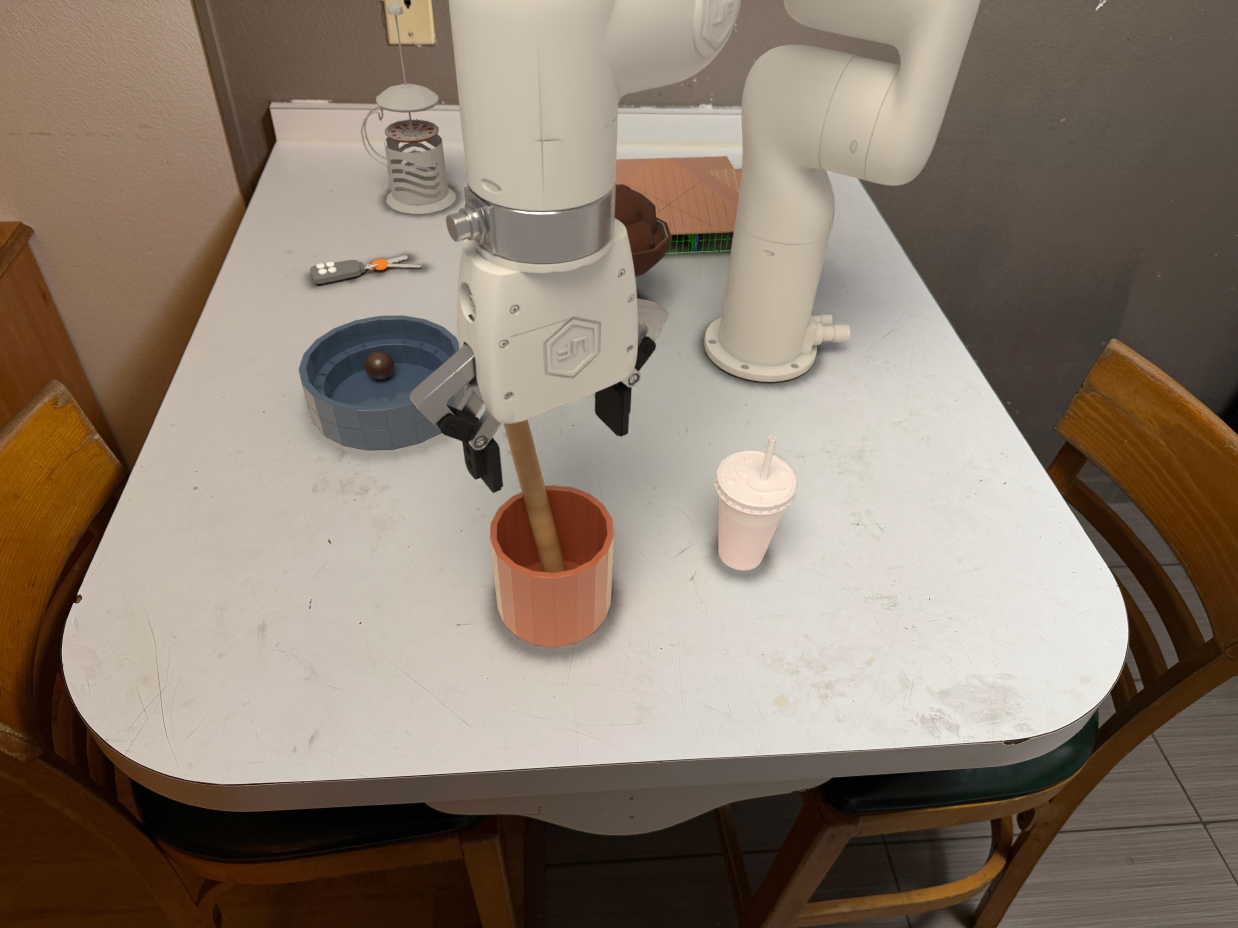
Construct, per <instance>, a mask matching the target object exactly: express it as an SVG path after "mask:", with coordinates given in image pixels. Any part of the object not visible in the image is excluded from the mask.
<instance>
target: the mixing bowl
mask: <svg viewBox="0 0 1238 928" xmlns="http://www.w3.org/2000/svg"><path fill="white" fill-rule="evenodd" d="M458 350H459V341H458V337H456V336H455V335H454V334H453V333H452V332H450V331H449V330H448V329H447V328H446V327H444V326H443V325H441V324H438V323H436V322H434V321H431V320H428V319H426V318H421V317H415V316H409V315H402V314H401V315H377V316H369V317H365V318H360V319H355V320H352V321H350V322H347V323H344V324H342V325H339V326H336V327H334V328H332V329H331V330H329V331H327V332H325V333H324V334H322V335H321V336H319V337H318V338H316V339H315V340H314V341H313V342H312V344H311V345H310V346H309V347H308V348H307V349H306V350H305V352H303V355H302V357H301V360H300V364H299V366H298V374H299V378H300V383H301V387H302V390H303V394H304V396H305V400H306V404H307V406H308V410H309V413H310V417H311V420H312V423H313V424H314V425H315V427H316V428H317V429H318V430H319V431H320V433H322V435H323V436H325V438H328V439H330V440H332V441H334V442H336V443H338V444H339V445H341V446H344V447H349V448H355V449H360V450H365V451H382V450H383V451H384V450H385V451H386V450H396V449H401V448H405V447H409V446H413V445H418V444H421V443H422V442H425V441H427V440H429V439H431V438H433V437H435V436H437V435H440V434H442V432H441V431H440V430H439V429H438V428H437V427H436V426H435V425H434V424H432V423H431V422H430V421H429V420H428V419H427V418H426V417H425V416H424V415H423V414H422V413H421V412H420V411H419V410H418V408H417V407H416V406H415V405H414V403H413V402H412V401H411V399H410V393H411V392H412V390H413V389H415V388H416V387H417V386H418V385H419V384H420V383H421V382H423V381H424V380H425V379H426V378H427V377H428V376H430V375H431V374H432V373H433V372H434V371H435V370H436V369H438V368H439V367H440V366H441V365H442V364H443V363H444V362H446V361H447V360H448V359H449V358H450V357H451V356H453V355H454V354H455V353H456V352H457V351H458ZM376 351H382V352H385V353H387V354H389V355H390V356H391V357H392V359H393V361H394V365H395V368H394V372H393V374H392V375H391V376H390V377H389V378H387V379H385V380H375V379H373V378H371V377H370V376H369V375H368V374H367V373H366V371H365V367H364V363H365V360H366V358H367V356H368V355H370V354H371V353H373V352H376ZM467 391H468V387H467V386H466V385H465V386H464V387H463V388H461V389H460V390H459V391H458V392H457V393H456V394H455V395H453V396H452V397H451V398H450V399H449V400H448V402H447V405H449V406H452V407H454V408H457V407H458V405H459V403H460V402H461V400H462V399H463V397H464V395H465V394H466V392H467Z"/></svg>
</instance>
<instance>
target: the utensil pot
mask: <svg viewBox="0 0 1238 928" xmlns="http://www.w3.org/2000/svg"><path fill="white" fill-rule="evenodd" d="M545 488H546V492H547V496H548V500H549V503H550V507H551V511H552V515H553V519H554V523H555V527H556V531H557V535H558V538H559V542H560V546H561V550H562V554H563V558H564V562H565V566H566V570H567V571H562V572H556V573H549V572H543V570H542V566H541V562H540V559H539V555H538V551H537V547H536V544H535V540H534V536H533V532H532V529H531V525H530V521H529V517H528V514H527V510H526V506H525V503H524V499H523V495H522V491H521V492H518V493H517V494H514V495H513V496H510V498H509V499H508V500H506V501H505V502H504V503H503V504H502V505H501V506H500V507H498V509H497V511H496V513H495V514H494V516H493V519H492V520H491V522H490V525H489V526H490V527H489V528H490V529H489V543H490V552H491V561H492V562H491V563H492V571H493V579H494V588H495V589H494V590H495V597H496V598H495V599H496V607H497V612H498V613H499V617H500V618H501V621H502V623H503V625H504V626H505V627H506V628H507V629H508V630H509V632H511V633H512V634H513V635H515V636H516V637H517V638H518V639H520V640H523V641H524V642H526V643H528V644H532V645H535V646H540V647H548V648H549V647H551V648H558V647H564V646H565V647H566V646H569V645H573V644H576V643H578V642H581V641H583V640H584V639H587V638H588V637H589V636H591V635H593V634H595V632H596V631H598V630H599V628H600V627H601V626H602V624H603V623H604V622H605V621H606V619H607V616H608V614H609V610H610V608H611V605H612V604H611V603H612V589H613V588H612V587H613V566H614V549H615V548H614V545H615V530H614V521H613V518H612V516H611V514H610V512H609V510H608V509H607V508H606V506H605V504H603V503H602V502H601V501H600V500H599V499H597V498H596V497H594V496H593V495H592V494H590V493H589V492H587V491H583V490H581V489H578V488H576V487H573V486H566V485H557V484H556V485H555V484H549V485H545Z"/></svg>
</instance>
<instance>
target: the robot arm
mask: <svg viewBox="0 0 1238 928" xmlns="http://www.w3.org/2000/svg"><path fill="white" fill-rule="evenodd" d="M741 4H742V0H448V7H449V8H448V9H449V19H450V27H451V37H452V45H453V46H452V47H453V56H454V57H453V58H454V67H455V77H456V86H457V87H456V88H457V95H458V106H459V117H460V127H461V134H462V135H461V136H462V145H463V154H464V164H465V172H466V185H467V186H464V187H463V192H464V193H463V194H464V200H465V201H464V202H465V203H464V207H461V208H459V210H458V211H457V212H453V213H449V214H447V215H446V217H445V223H446V227H447V231H448V234H449V236H450V238H451V239H452V240H453V242H456V243H457V242H462V241H463V242H462V248H461V254H460V260H459V269H458V281H457V282H458V283H457V301H456V302H457V312H456V313H457V315H456V316H457V340H458V342H459V350H458V351H457V352H456V353H455V354H454V355H453V356H451V357H450V358H449V359H448V360H447V361H446V362H444V363H443V364H442V365H441V366H440V367H439V368H438V369H436V370H435V371H434V372H433V373H432V374H431V375H430V376H428V377H427V378H426V379H425V380H424V381H423V382H421V383H420V384H419V385H418V386H417V387H416V388H415V389H413V390H412V392H411V393H410V399H411V401H412V402H413V403H414V405H415V406H416V407H417V408H418V410H419V411H420V412H421V413H422V414H423V415H424V416H425V417H426V418H427V419H428V420H429V421H430V422H431V423H432V424H434V425H435V426H436V427H437V428H438V429H439V430H440V431H441V434H443V435H444V436H446V437H449V438H452V439H454V440H457V441H460V442H461V443H462V450H463V456H464V464H465V467H466V469H467V472H468V473H469V475H470V476H471V477H472V478H473V479H474V480H476V481H477V480H479V479H481V480H482V481H483V483H484V484H485V486H486V487H487V488H488V489H489V491H490V492H491V493H492V494H495V493H497V492H500V491H502V488H503V487H504V480H503V471H502V469H503V468H502V459H501V448H500V445H499V443H498V442H497V441H496V440H495V438H494V436H495V434H496V433H497V431H498V430H499V428H500V426H501V425H502V424H503V425H504V424H513V423H518V422H522V421H525V420H528V421H529V420H531V419H533V418H536V417H539V416H541V415H544V414H546V413H548V412H551V411H554V410H556V409H559V408H561V407H564V406H566V405H569V404H571V403H574V402H576V401H578V400H581V399H583V398H586V397H588V396H590V395H593V394H594V414H595V415H596V417H597V418H598V419H599V420H600V421H601V422H602V423H603V424H604V425H605V426H606V427H607V428H608V429H609V430H610V431H611V432H612V433H613V434H614V435H615V436H617V437H620V438H621V437H624V436H626V435H628V434H629V425H630V423H629V422H630V414H631V409H632V393H633V392H632V391H633V390H632V389H633V388H634V387H636V386H637V385H638V384H639V383H640V381H641V379H642V374H641V372H640V371H641V370H642V368H643V367H644V365H645V364H646V363H647V362H648V360H649V359H650V358H651V356H652V355H653V354H654V352H655V351H656V348H657V343H656V342H655V341H656V339H659V337H660V335H661V334H662V331H663V329H664V327H665V325H666V323H667V321H668V319H669V312H668V310H666V309H665V308H664V307H663V306H661V305H660V304H659V303H658V302H656V301H652V300H647V299H642V298H641V299H638V298H637V293H638V292H637V291H638V290H637V281H636V277H635V272H634V265H633V259H632V254H631V248H630V243H629V239H628V234H627V230H626V227H625V226H624V224H623V223H621V222H620V221H619V220H617V219H615V191H616V160H617V153H618V152H617V151H618V120H619V119H618V116H619V103H620V100H621V99H622V98H623V97H624V96H626V95H629V94H634V93H638V92H642V91H648V90H652V89H657V88H663V87H667V86H671V85H675V84H677V83H680V82H683V81H685V80H687V79H690V78H692V77H694V76H695V75H696V74H698V73H700V72H701V71H703V70H704V68H706V67H707V66H708V65H710V64H711V63H712V61H714V59H716V57H717V56H718V55H719V53H720V52H721V51H722V50H723V49H724V47H725V45H726V44H727V42H728V40H729V38H730V37H731V35H732V33H733V30H734V27H735V25H736V22H737V19H738V16H739V11H740V8H741ZM980 4H981V0H783V6H784V9H785V12H786V13H787V15H788V16H789V17H790V18H792V19H793V21H795V22H797V23H798V24H800V25H802V26H806V27H808V28H811V29H814V30H819V31H823V32H826V33H827V32H828V33H832V34H836V35H841V36H844V37H845V36H846V37H851V38H855V39H860V40H865V41H869V42H876V43H881V44H885V45H889V46H892V47H895V48H896V50H897V51H898V54H899V62H900V63H899V64H897V63H893V62H888V61H883V60H879V59H873V58H868V57H865V56H864V57H863V56H860V55H859V54H856V53H855V54H854V53H850V52H844V51H841V50H835V49H829V48H824V47H821V46H820V47H819V46H814V45H809V44H808V45H807V44H783V45H780V46H779V45H778V46H776V47H773V48H771V49H769V50H767V51H766V52H765V53H763V54H761V55H760V56H759V57H758V58H757V59H756V61H755V62H754V63H753V64H752V66H751V68H750V70H749V72H748V73H747V76H746V79H745V82H744V85H743V91H742V98H741V112H740V113H741V140H742V141H741V142H742V143H741V145H742V147H741V148H742V155H741V157H742V159H741V160H742V161H741V168H742V173H741V183H740V192H739V200H738V206H737V213H736V220H735V227H734V232H732V233H733V234H732V238H733V239H731V240H732V241H731V247H730V250H731V251H730V255H729V262H728V269H727V275H726V283H725V289H724V296H723V303H722V310H721V316H719V317H718V318H715V319H714V320H713V321H711V322H710V323H709V324H708V326H707V327H706V330H705V333H704V338H703V339H704V340H703V346H704V351H705V353H706V355H707V357H708V358H709V359H710V360H711V361H712V363H714V364H715V365H716V366H717V367H718V368H720V369H722V370H723V371H725V372H726V373H728V374H730V375H733V376H735V377H737V378H740V379H744V380H747V381H752V382H753V381H754V382H759V383H760V382H762V383H777V382H778V383H779V382H785V381H789V380H793V379H795V378H798V377H800V376H801V375H804V374H805V373H807V372H808V371H809V370H810V369H811V368H812V367H813V365H814V363H815V361H816V357H817V353H818V346H820V345H822V343H823V342H831V343H848V342H849V341H850V339H851V327H850V325H849V324H848V323H847V324H846V323H843V324H833V322H834V317H833V315H832V314H816V315H815V314H813V313H812V312H813V308H814V304H815V299H816V296H817V291H818V287H819V283H820V278H821V274H822V271H823V270H822V269H823V266H824V262H825V261H824V260H825V258H826V257H825V256H826V253H827V249H828V244H829V240H830V235H831V231H832V228H833V224H834V219H835V210H836V203H835V194H834V190H833V185H832V182H831V180H830V177H829V174H828V172H827V171H829V172H832V173H836V174H840V175H843V176H848V177H851V178H855V179H859V180H863V181H867V182H870V183H874V184H877V185H878V184H879V185H884V186H895V187H896V186H902V185H906V184H909V183H910V182H911V181H913V180H915V179H916V177H918V176H919V175H920V174H921V172H922V171H923V169H925V166H926V164H927V162H928V161H929V158H930V156H931V155H932V152H933V150H934V147H935V144H936V142H937V139H938V136H939V133H940V130H941V127H942V124H943V122H944V118H945V115H946V112H947V108H948V105H949V102H950V99H951V95H952V93H953V89H954V86H955V83H956V80H957V77H958V74H959V71H960V68H961V64H962V61H963V58H964V55H965V52H966V49H967V45H968V42H969V39H970V36H971V34H972V30H973V27H974V23H975V20H976V17H977V15H978V11H979V7H980ZM465 385H466V386H467V392H466V394H465V395H464V397H463V399H462V400H461V402H460V403H459V405H458V407H457V408H454V407H452V406H449V405H447V402H448V400H449V399H450V398H451V397H452V396H453V395H455V394H456V393H457V392H458V391H459V390H460V389H461V388H463V387H464V386H465ZM483 406H484V407H485V410H484V411H483V412H482V414H481V416H480V418H479V417H478V416H477V415H478V414H479V412H480V410H481V409H482V407H483Z"/></svg>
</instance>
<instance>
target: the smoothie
mask: <svg viewBox="0 0 1238 928" xmlns="http://www.w3.org/2000/svg"><path fill="white" fill-rule="evenodd" d="M776 442H777V437H776V436H774V435H770V436H768V439H767V443H766V450H765V451H761V450H752V449H751V450H741V451H737V452H734V453H731V454H729V455H728V456H725V458H723V459H722V460H721V461H720V463H719V464H718V465H717V468H716V473H715V475H714V482H713V483H714V484H713V485H714V488H715V491H716V493H717V503H718V504H717V506H718V507H717V509H718V511H717V512H718V514H717V517H718V518H717V519H718V521H717V525H718V527H717V530H718V531H717V533H718V536H717V539H718V543H717V545H718V551H717V552H718V556H719V558H720V560H721V561H722V562H723V563H724V564H725V565H726V566H727V567H729V568H732V569H734V570H737V571H750V570H754V569H756V568H757V567H758V566H759V565H760V564H761V563H762V562H763V559H764V557H765V555H766V554H767V551H768V548H769V546H770V544H771V542H772V539H773V537H774V535H775V533H776V531H777V529H778V526H779V524H780V522H781V520H782V518H783V515H784V513H785V511H786V509H787V508H788V507H789V506H790V505H791V504H792V503H793V502H794V500H795V497H796V496H797V495H796V494H797V493H796V491H797V488H798V479H797V475H796V473H795V472H794V470H793V468H792V467H791V466H790V465H789V464H788V463H787V462H786V461H785V460H783V459H781V458H780V457H778V456H776V455H774V451H775V446H776Z"/></svg>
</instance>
